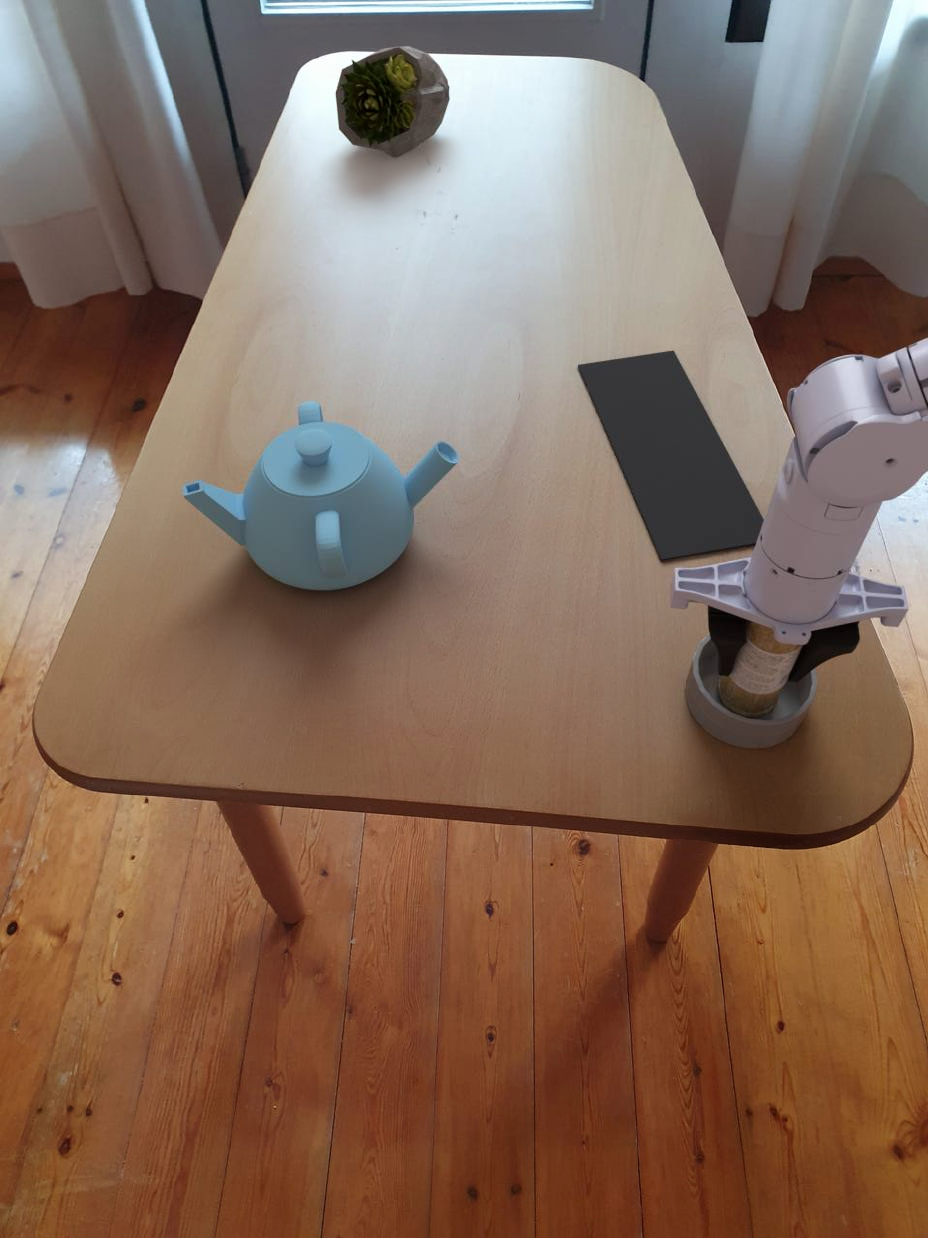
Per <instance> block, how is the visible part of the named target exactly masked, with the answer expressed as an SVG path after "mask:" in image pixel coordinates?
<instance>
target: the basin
mask: <svg viewBox="0 0 928 1238" xmlns="http://www.w3.org/2000/svg"><path fill="white" fill-rule="evenodd" d="M816 668H817V667H816ZM816 668H815V669H813V670H812V671H811V672H809V673H808V674H807V675H806V676H805V677H803V678H802V679H801V680H800V681H799V682H789V677H788V679H787V681H786V683H785V684H784V686H783V687H782V689H781V691H780V694H779V698H778V702H777V704H776V706H775V707H774V708H773V709H772V710H771V711H770V712H769V713H768V714H765V715H762V716H759V717H745V716H742V715H739V714H737V713H735V712H733V711H732V710H730V709H729V708H728V707H726V706H725V705H724V703H723V702H722V700H721V698H720V696H719V693H718V681H719V679H720V677H721V676H720V675H719V674H718V650H717V647H716V646H715V644H714V642H713V641H712V640H711V637H710V634H709V633H707V635H706V636H705V637H704V638H703V639H701V641H700V642H699V643H698V644H697V647H696V650H695V653H694V655H693V657H692V660H691V664H690V667H689V670H688V674H687V677H686V680H685V688H684V689H685V690H684V691H685V692H684V694H685V700H686V704H687V706H688V709H689V711H690V714H691V715H692V717H693V718H694V720H695V721H696V722H697V723H698V724H699V726H700V727H701V728H702V729H703V730H704V731H706V733H708V734H709V735H710V736H712V737H714V738H715V739H717V740H719V741H720V742H722V743H725V744H728V745H730V746H733V747H737V748H742V749H743V748H744V749H753V750H754V749H755V750H757V749H758V750H759V749H766V748H771V747H774V746H777V745H779V744H782V743H783V742H785V741H787V740H788V739H789V738H791V737H792V736H793V735H794V734H795V733H796V732H797V730H798V729H799V728H800V726H801V725H802V723H803V722H804V720H805V718H806V716H807V714H808V711H809V710H810V709H811V706H812V705H813V702H814V700H815V698H816V695H817V691H818V686H819V683H818V674H817V669H816Z"/></svg>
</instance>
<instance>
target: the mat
mask: <svg viewBox="0 0 928 1238" xmlns="http://www.w3.org/2000/svg"><path fill="white" fill-rule="evenodd" d="M577 368H578V371H579V373H580V376H581V378H582V380H583V383H584V385H585V387H586V390H587V392H588V395H589V397H590V399H591V401H592V403H593V406H594V408H595V411H596V413H597V415H598V417H599V420H600V422H601V424H602V426H603V427H602V428H603V429H604V431H605V434H606V436H607V439H608V441H609V444H610V445H611V448H612V450H613V452H614V455H615V458H616V459H617V461H618V463H619V466H620V469H621V471H622V473H623V476H624V478H625V481H626V482H627V485H628V488H629V490H630V493H631V495H632V497H633V499H634V501H635V505H636V507H637V508H638V511H639V513H640V516H641V518H642V521H643V522H644V525H645V527H646V529H647V531H648V534H649V537H650V540H651V542H652V543H653V546H654V548H655V550H656V552H657V554H658V557H659V560H660V562H667V561H672V560H679V559H683V558H690V557H695V556H696V557H697V556H702V555H706V554H707V555H708V554H712V553H719V552H723V551H724V552H725V551H730V550H737V549H741V548H742V549H743V548H746V547H752V546H755V545H756V542H757V539H758V536H759V533H760V531H761V527H762V524H763V521H764V517H763V516H762V513H761V511H760V510H759V508H758V506H757V503H755V500H754V499H753V497H752V495H751V493H750V491H749V488H747V485H746V483H745V481H744V480H743V478H742V476H741V474H740V472H739V471H738V468H737V467H736V464H735V462H734V461H733V459H732V457H731V455H730V454H729V452H728V449H727V448H726V446H725V444H724V442H723V439H722V438H721V436H720V434H719V432H718V431H717V428H716V427H715V425H714V423H713V421H712V419H711V417H710V416H709V414H708V412H707V411H706V410H707V409H706V408H705V406H704V404H703V402H702V401H701V399H700V397H699V395H698V393H697V391H696V389H695V387H694V386H693V384H692V382H691V380H690V378H689V376H688V375H687V372H686V371H685V369H684V367H683V365H682V363H681V360H680V359H679V358H678V356H677V353H676V352H675V350H667V351H666V350H665V351H660V352H659V351H658V352H653V353H646V354H639V355H634V356H626V357H620V358H614V359H607V360H601V361H594V362H587V363H580V364H577Z"/></svg>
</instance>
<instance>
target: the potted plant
mask: <svg viewBox="0 0 928 1238" xmlns="http://www.w3.org/2000/svg"><path fill="white" fill-rule="evenodd" d="M448 81H449V80H448V78H447V76H446V75H445V73H444V71H443V69H442V67H441V66H440V64H439V63H438V62H436V60H435V59H434V58H433V57H432V56H431V55H430V53H427V52H426V51H422V50H420V49H417V48H415V47H412V46H409V45H405V46H393V47H384V48H381V49H379V50H377V51H375V52H373V53H371V54H369V55H367V56H365V57H363V58H361V59H359V60H357V61H356V60H354V59H351V64H349V65H348V66H346V67H343V68H342V69H341V72H340V76H339V78H338V82H337V86H336V90H335V94H334V95H335V102H336V104H335V105H336V113H337V124H338V130H339V131H340V132H341V133H342V134H343V136H344V137H345V138H346V139H347V140H348V142H350V144H351V145H353V146H356V147H361V148H365V149H371V150H376V151H381V152H383V153H385V154H387V155H388V156H390V157H392V158H394V159H398V158H399V157H401V156H403V155H405V154H407V153H408V152H411V151H413V150H415V149H416V148H417V147H419V146H420V145H422V144H423V143H424V142H426V141H427V140H429V139H431V138H432V137H433V136H434V135H435V134H436V133H437V130H439V128H440V127H441V125H442V123H443V121H444V118H445V115H446V112H447V109H448V106H449V103H450V99H451V98H450V85H449V82H448Z"/></svg>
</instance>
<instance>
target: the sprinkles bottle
mask: <svg viewBox="0 0 928 1238" xmlns="http://www.w3.org/2000/svg"><path fill="white" fill-rule="evenodd" d="M745 623H746V638H747V643H746V644H744V645H743V646H742V648H741V649H740V650H739V652H738V654H737V655H736V657H735V661H734V664H733V668H732V671H731V673H730V675H729V676H721V677H720V679H719V681H718V693H719V696H720V698H721V700H722V702H723V703H724V705H725V706H726V707H728V708H729V709H730V710H732V711H733V712H735V713H737V714H739V715H742V716H745V717H759V716H762V715H765V714H768V713H769V712H770V711H771V710H772V709H773V708H774V707H775V706H776V704H777V702H778V698H779V694H780V691H781V689H782V687H783V686H784V684H785V683H786V681H787V679H788V677H789V675H790V673H791V670H792V668H793V666H794V664H795V662H796V660H797V657H798V655H799V653H800V651H801V649H802V647H803V645H795V644H783V643H780V642H778V641H777V640H776V639H775V637H774V631H773V629H771V628H769V627H766V626H764V625H761V624H758V623H755V622H753V621H750V620H747V619H746V622H745Z"/></svg>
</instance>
